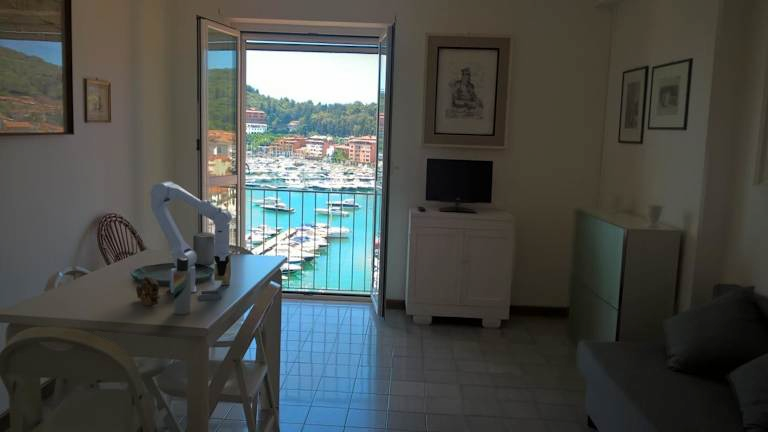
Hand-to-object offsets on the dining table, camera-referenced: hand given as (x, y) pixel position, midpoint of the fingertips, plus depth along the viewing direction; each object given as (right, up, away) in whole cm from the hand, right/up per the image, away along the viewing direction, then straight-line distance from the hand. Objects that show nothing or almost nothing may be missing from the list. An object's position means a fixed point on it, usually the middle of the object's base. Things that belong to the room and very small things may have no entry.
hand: (221, 274), depth 242 cm
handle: (-2, -6, +13) cm, 14 cm away
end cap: (-3, -8, -6) cm, 11 cm away
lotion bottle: (-7, -11, -26) cm, 29 cm away
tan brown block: (0, -2, 0) cm, 2 cm away
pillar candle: (-21, +1, +48) cm, 53 cm away
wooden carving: (-22, -9, -19) cm, 30 cm away
